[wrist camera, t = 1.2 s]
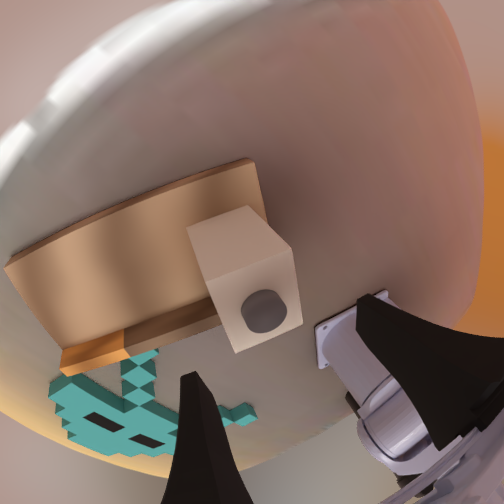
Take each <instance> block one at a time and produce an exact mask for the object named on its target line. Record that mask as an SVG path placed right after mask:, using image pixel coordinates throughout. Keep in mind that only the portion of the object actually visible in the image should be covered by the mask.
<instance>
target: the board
mask: <svg viewBox="0 0 504 504" xmlns="http://www.w3.org/2000/svg"><path fill="white" fill-rule="evenodd" d="M246 205H248V206H249V207H251V208H252V209H253V210H254V211H255V212H256V213H257V214H258V215H259V216H260V217H261V218H262V219H263V220H264V221H265V222H266V223H267V224H268V222H267V217H266V213H265V208H264V203H263V199H262V194H261V190H260V185H259V181H258V176H257V172H256V168H255V163H254V162H253V161H251V160H249V159H247V158H245V159H241V160H238V161H235V162H232V163H228V164H225V165H222V166H219V167H216V168H213V169H210V170H207V171H204V172H201V173H198V174H195V175H192V176H189V177H187V178H184V179H181V180H178V181H175V182H173V183H170V184H167V185H165V186H162V187H159V188H157V189H154V190H152V191H149V192H147V193H144V194H142V195H139V196H137V197H134V198H132V199H129V200H127V201H125V202H122V203H120V204H117V205H115V206H113V207H111V208H108V209H106V210H104V211H101V212H99V213H97V214H95V215H93V216H90V217H88V218H86V219H84V220H82V221H80V222H78V223H76V224H73V225H71V226H69V227H67V228H65V229H63V230H61V231H59V232H57V233H55V234H53V235H51V236H49V237H48V238H46V239H44V240H42V241H40V242H38V243H36V244H34V245H33V246H31V247H29V248H27V249H25V250H23V251H22V252H20V253H18V254H16V255H15V256H13V257H11V258H10V260H9V261H8V262H7V264H6V265H5V267H4V270H5V272H6V273H7V275H8V277H9V278H10V280H11V282H12V283H13V285H14V286H15V288H16V289H17V291H18V292H19V294H20V295H21V297H22V298H23V300H24V301H25V303H26V304H27V305H28V307H29V308H30V310H31V311H32V312H33V314H34V315H35V316H36V318H37V319H38V320H39V322H40V323H41V324H42V326H43V327H44V328H45V329H46V331H47V332H48V333H49V334H50V336H51V337H52V338H53V339H54V340H55V342H56V343H57V344H58V345H59V346H60V347H61V349H62V350H63V351H62V356H61V362H60V368H59V369H60V370H61V371H62V372H63V373H64V374H65V375H66V376H67V377H68V376H72V375H75V374H79V373H82V372H86V371H89V370H92V369H95V368H99V367H102V366H105V365H108V364H112V363H115V362H118V361H121V360H124V359H127V358H130V357H133V356H136V355H139V354H142V353H145V352H148V351H151V350H154V349H156V348H159V347H162V346H165V345H168V344H171V343H173V342H176V341H179V340H182V339H184V338H187V337H190V336H193V335H195V334H198V333H200V332H203V331H206V330H208V329H211V328H214V327H216V326H219V325H221V324H222V322H221V319H220V317H219V315H218V312H217V310H216V308H215V305H214V303H213V300H212V298H211V296H210V293H209V291H208V288H207V286H206V283H205V281H204V278H203V275H202V272H201V270H200V267H199V264H198V261H197V258H196V255H195V252H194V250H193V247H192V244H191V241H190V238H189V235H188V232H187V229H186V227H188V226H191V225H193V224H196V223H199V222H201V221H204V220H207V219H210V218H212V217H215V216H218V215H221V214H223V213H226V212H229V211H232V210H235V209H238V208H240V207H243V206H246Z"/></svg>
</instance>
